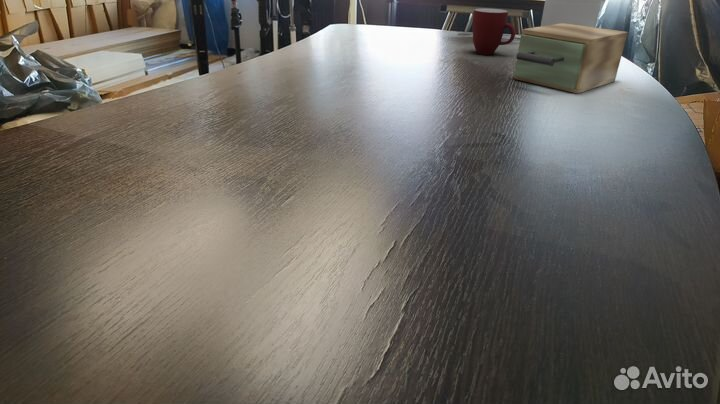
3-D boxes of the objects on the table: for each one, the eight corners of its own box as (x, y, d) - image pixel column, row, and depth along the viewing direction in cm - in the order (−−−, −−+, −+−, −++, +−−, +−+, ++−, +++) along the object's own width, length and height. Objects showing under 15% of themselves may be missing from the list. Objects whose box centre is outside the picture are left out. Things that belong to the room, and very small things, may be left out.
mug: (513, 53, 125) (520, 10, 120) (510, 59, 118) (517, 14, 114) (471, 49, 128) (476, 7, 123) (465, 54, 121) (471, 11, 117)
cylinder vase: (531, 55, 122) (552, -59, 111) (540, 47, 132) (560, -59, 121) (585, 61, 118) (613, -58, 106) (590, 53, 127) (616, -57, 116)
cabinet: (578, 93, 92) (590, 39, 87) (513, 78, 101) (522, 29, 96) (614, 81, 101) (627, 31, 97) (553, 68, 110) (562, 23, 105)
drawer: (559, 93, 88) (569, 47, 84) (499, 79, 96) (506, 37, 92) (608, 77, 100) (618, 37, 96) (551, 66, 108) (558, 28, 104)
